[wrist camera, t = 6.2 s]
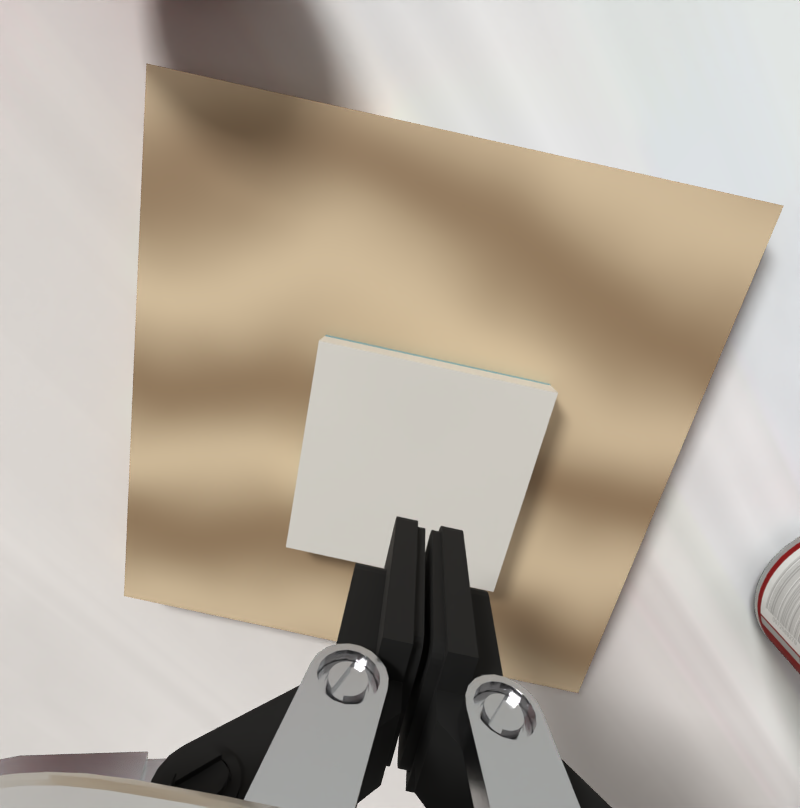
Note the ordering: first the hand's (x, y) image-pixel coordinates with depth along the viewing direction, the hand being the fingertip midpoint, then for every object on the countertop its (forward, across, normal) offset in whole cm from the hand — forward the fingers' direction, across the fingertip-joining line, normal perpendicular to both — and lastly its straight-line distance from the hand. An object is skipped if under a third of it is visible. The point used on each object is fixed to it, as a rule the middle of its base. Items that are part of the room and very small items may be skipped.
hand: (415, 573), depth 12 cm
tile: (+6, +4, 0) cm, 7 cm away
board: (+8, +1, -1) cm, 8 cm away
